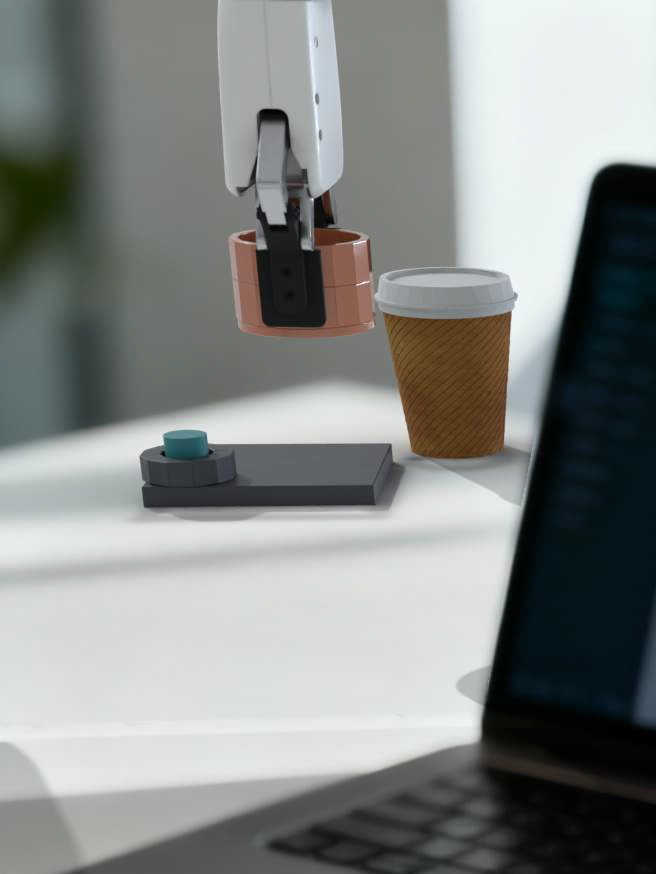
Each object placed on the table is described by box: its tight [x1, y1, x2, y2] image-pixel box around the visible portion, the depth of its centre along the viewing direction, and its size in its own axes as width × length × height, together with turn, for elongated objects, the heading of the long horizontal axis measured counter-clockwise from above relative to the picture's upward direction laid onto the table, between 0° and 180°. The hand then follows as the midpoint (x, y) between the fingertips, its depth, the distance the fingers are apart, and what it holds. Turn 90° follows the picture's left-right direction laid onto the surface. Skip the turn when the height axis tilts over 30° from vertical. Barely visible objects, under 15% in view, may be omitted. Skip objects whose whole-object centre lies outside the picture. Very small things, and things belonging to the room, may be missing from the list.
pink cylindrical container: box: [227, 227, 377, 339], centre depth 129 cm, size 7×7×5 cm
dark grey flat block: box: [138, 442, 394, 508], centre depth 156 cm, size 14×12×3 cm
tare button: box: [162, 429, 209, 458], centre depth 151 cm, size 3×3×2 cm
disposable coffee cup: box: [374, 266, 519, 460], centre depth 165 cm, size 10×10×12 cm
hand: (306, 310), depth 130 cm, fingers closed on pink cylindrical container, 7 cm apart
